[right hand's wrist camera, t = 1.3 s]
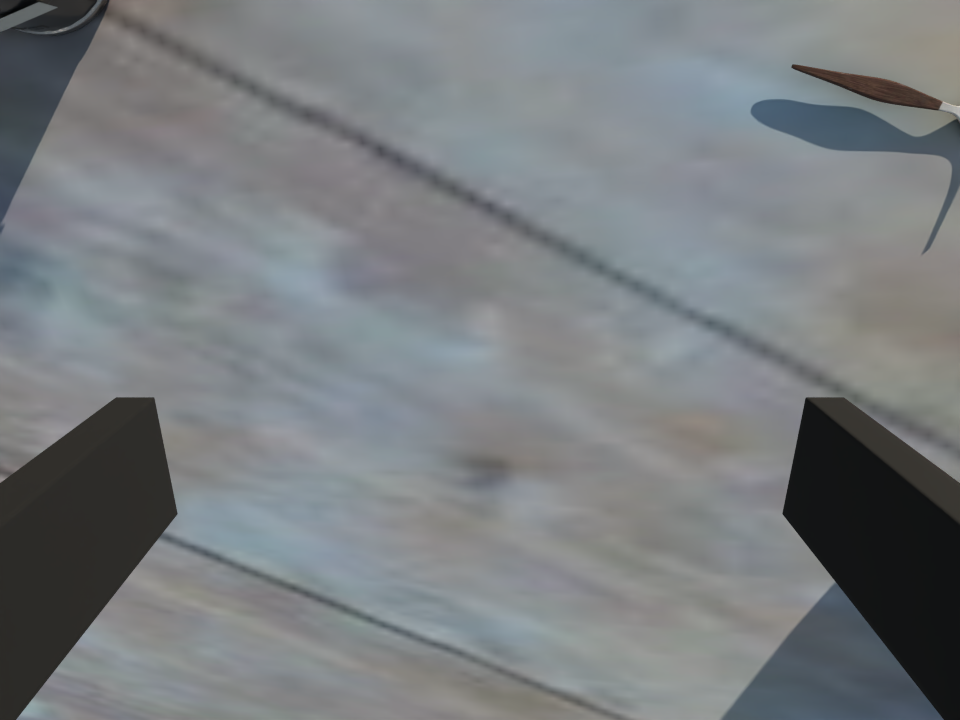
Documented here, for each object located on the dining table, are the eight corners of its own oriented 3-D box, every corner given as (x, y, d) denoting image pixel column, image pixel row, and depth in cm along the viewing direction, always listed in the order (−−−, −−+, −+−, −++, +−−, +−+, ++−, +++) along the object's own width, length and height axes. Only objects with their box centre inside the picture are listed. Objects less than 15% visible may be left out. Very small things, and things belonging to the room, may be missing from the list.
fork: (796, 41, 35) (814, 36, 33) (1051, 111, 36) (1082, 110, 34) (778, 90, 36) (795, 88, 34) (1027, 157, 37) (1056, 158, 35)
